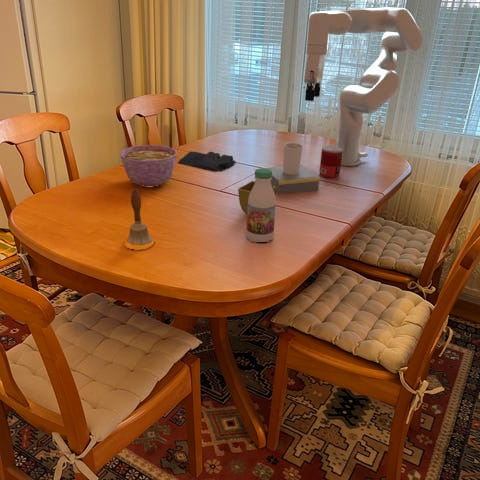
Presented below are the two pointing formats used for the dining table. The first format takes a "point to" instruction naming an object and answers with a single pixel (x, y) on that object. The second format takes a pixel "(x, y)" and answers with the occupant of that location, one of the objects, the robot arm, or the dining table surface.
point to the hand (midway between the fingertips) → (312, 98)
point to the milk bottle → (261, 208)
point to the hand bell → (138, 223)
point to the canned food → (330, 162)
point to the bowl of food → (149, 164)
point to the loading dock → (294, 180)
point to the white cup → (292, 158)
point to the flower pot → (246, 195)
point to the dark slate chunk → (208, 161)
